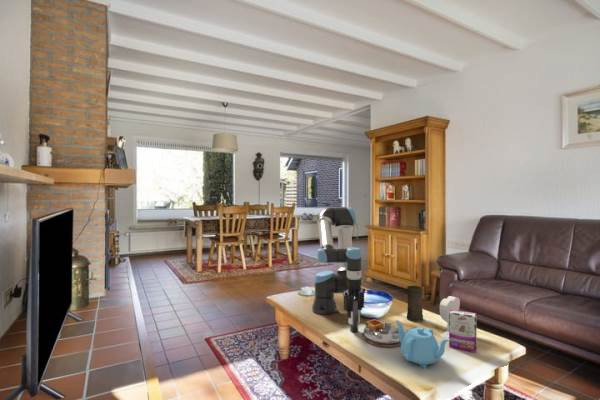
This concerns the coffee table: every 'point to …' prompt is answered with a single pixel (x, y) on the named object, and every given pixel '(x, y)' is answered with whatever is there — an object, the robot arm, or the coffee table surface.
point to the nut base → (381, 344)
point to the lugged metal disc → (381, 332)
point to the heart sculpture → (445, 308)
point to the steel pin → (354, 316)
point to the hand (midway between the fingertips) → (354, 322)
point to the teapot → (420, 346)
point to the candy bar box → (462, 330)
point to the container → (415, 304)
